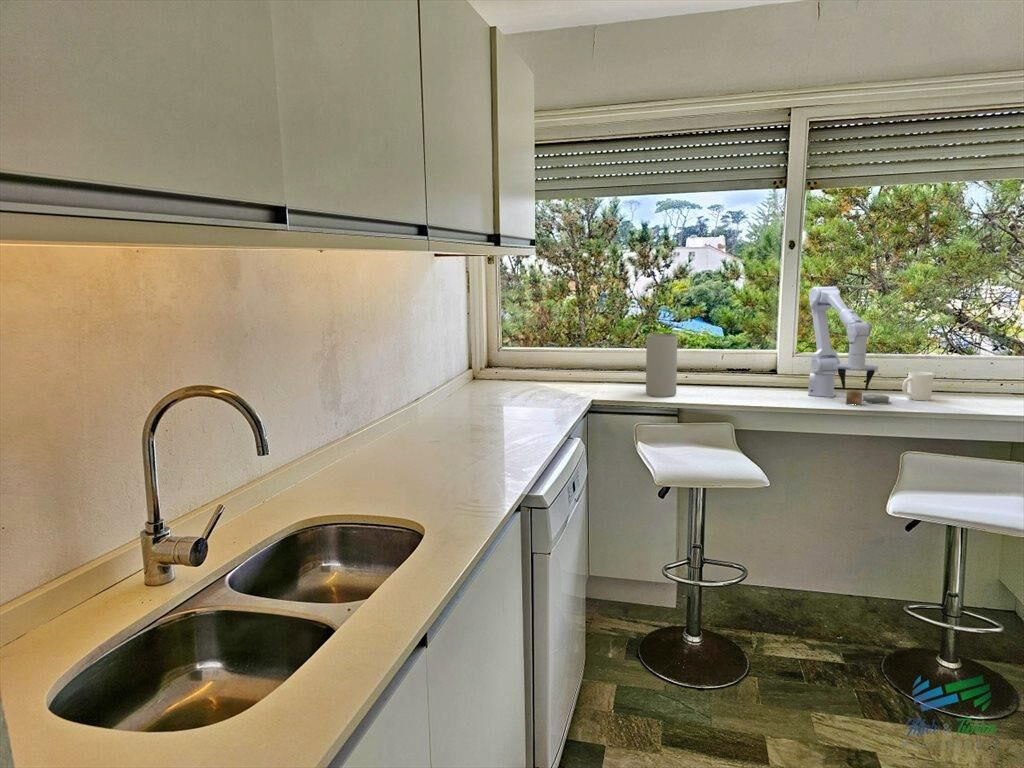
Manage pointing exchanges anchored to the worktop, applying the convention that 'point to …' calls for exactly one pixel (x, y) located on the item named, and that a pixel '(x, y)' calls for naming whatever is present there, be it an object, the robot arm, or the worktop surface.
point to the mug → (918, 385)
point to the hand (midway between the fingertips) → (854, 389)
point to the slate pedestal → (876, 398)
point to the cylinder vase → (661, 365)
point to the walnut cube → (854, 397)
